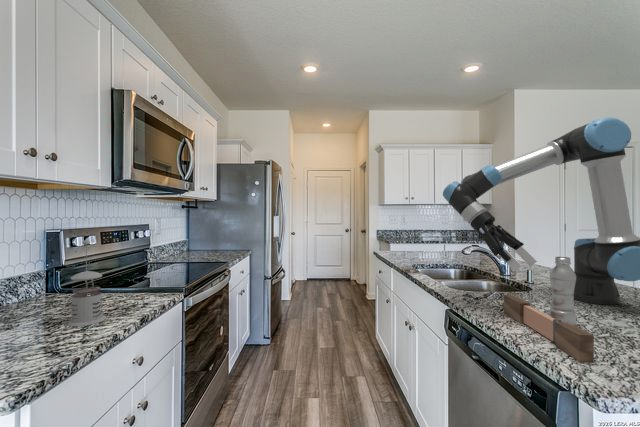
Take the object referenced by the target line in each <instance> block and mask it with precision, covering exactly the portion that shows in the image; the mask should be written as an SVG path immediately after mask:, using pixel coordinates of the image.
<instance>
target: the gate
mask: <svg viewBox="0 0 640 427" xmlns="http://www.w3.org/2000/svg"><path fill="white" fill-rule="evenodd" d="M555 322H562V321H561V320H558V319H554V318H552V317H550V316H549V314H546V313H544V312H542V311H540V310H539V309H536V308H534V306H533V307H532V306H531V305H530V306H524V323H523V324H525V325H526V326H528V327H529V328H531V329H532V330H534V331H535V332H537V333H539V334H541V335H542V336H544V337H545V338H546V339H548V340H550V341H551V342H552V343H554V344H555Z"/></svg>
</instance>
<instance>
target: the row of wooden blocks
mask: <svg viewBox="0 0 640 427" xmlns="http://www.w3.org/2000/svg"><path fill="white" fill-rule="evenodd" d="M524 306H531V303H530V302H529V301H527V300H524V299H522V298H521V297H519V296H516V295H514V294H503V313H504V314H505V315H507V316H508V317H510V318H511V319H513V320H514V321H515V322H517V323H519V324H524ZM554 347H557V348H558V349H560V350H561V351H562V352H564V353H565V354H567V355H569V356H570V357H571V358H573V359H575V360H577V362H581V363H585V362H586V363H594V361H595V358H594V357H595V356H594V355H595V353H594V351H595V335H594V334H592V333H590V332H589V331H586V330H584V329H582V328H580V327H579V326H576V325H575V324H574V325H572V324H570V323H568V322H555V343H554Z"/></svg>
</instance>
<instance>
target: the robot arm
mask: <svg viewBox="0 0 640 427" xmlns="http://www.w3.org/2000/svg"><path fill="white" fill-rule="evenodd" d="M631 139H632V131H631V129H630V126H629V125H628V124H627V123H626V122H625V121H623V120H621V119H619V118H617V117H602V118H600V119H599V118H598V119H595V120H592V121H590V122H588V123H586V124H584V125H582V126H578V127H576V128H574V129H572V130H571V131H569V132H567V133H565V134H564V135H562V136H559V137H558V138H555V139H553V140H551V141H548V142H547V143H546V145H545V146H542V147H539V148H537V149H535V150H532V151H529V152H527V153H524V154H522V155H519V156H516V157H514V158H511V159H508V160H506V161H503V162H500V163H498V164H496V165H492V164H488V165H486V166H484V167H481V169H480V170H478V171H477V172H475V173H472V174H468V175H466V176H464V178H462V180H461V182H459V181H453V182H449V184H448V185H447V186H446V187H445V188H444V189H443V191H442V197H443V198H444V200H446V201H447V202H448V204H449V205H450V206H451V207H452V208H453V210H455V211H456V212H457V213H458V214H459V215H460V216H461V217H462V218H463V221H466V223H468V224H469V225H470V227H471V228H472V229H473V230H474V231H475V232H476V233H478V234H479V236H481V237H482V239H483V241H484V242H485V244H486V246H487V247H488V248H489V250H490V251H491V253H492V254H493V255H494V256H495V257H497V256H499V257H500V258H501V259H502V260H503V261H504V262H505V264H507V265H508V266H509V267H510V269H511V270H512V271H513V272H516V271H518V270H519V269H520V268H522V267H523V265H522V263H521V262H520V261H518V260H517V259H516V257H515V256H513V254H512V253H511V252H509V250H508V249H505V248H504V247H503V244H505V245H507V246H508V247H510V248H512V249H513V250H514V252H515V253H516V255H517V256H519V257H520V258H521V259H522V260H523V261H524V262H525V263H526V264H527V265H528V266H529V267H532V266H533V265H535V264H536V263H537V262H538V260H537V259H536V258H535V257H534V256H533V255H532V254H531V253H530V252H529V251H528V250H527V249H526V248H524V247H523V246H524V245H525V244H524V242H522V241H520V239H519V240H518V238H516V237H515V236H513V235H512V234H511V233H510V232H508V231H507V230H505V228H503V227H502V226H501V225H500V224H498V225H496V224H494V223H495V221H496V218H495V216H494V215H493V213H490V211H489V210H487V208H486V207H485V206H483V204H482V203H480V201H479V200H477V199H479V198H480V197H481V196H483V195H484V194H485V193H488V191H490V190H491V189H492V188H494V187H496V186H498V185H501V184H504V183H507V182H508V181H509V182H510V181H512V180H514V179H518V178H520V177H523V176H525V175H529V174H531V173H533V172H536V171H539V170H542V169H545V168H546V167H550V166H553V165H557V166H560V165H562V164H566V163H569V162H575V161H578V160H580V165H582V166H584V167H585V168H586V169H587V173H588V180H589V186H590V190H591V197H592V202H593V209H594V214H595V221H596V226H597V231H598V236H597V237H595V238H592V237H591V238H577V239H576V240H575V241H574V244H573V245H574V247H573V252H574V255H573V258H574V259H573V260H574V262H573V263H574V264H573V266H574V267H573V271H574V272H575V274H576V283H575V288H574V300H576V301H579V302H584V303H590V304H596V305H609V306H612V305H613V306H614V305H620V304H621V295H620V293H619V290H618V288H617V284H616V282H615V280H618V281H623V282H624V281H625V282H636V281H640V237H639V236H637V235H636V234H634V233H633V232H634V231H633V227H632V221H631V215H630V210H629V205H628V204H629V203H628V198H627V192H626V187H625V181H624V174H623V170H622V163H621V162H622V161H623V159H624V158H625V157H626V156H627V155H626V150H625V148H627V146H628V144H629V143H630V141H631ZM502 243H503V244H502Z"/></svg>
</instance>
